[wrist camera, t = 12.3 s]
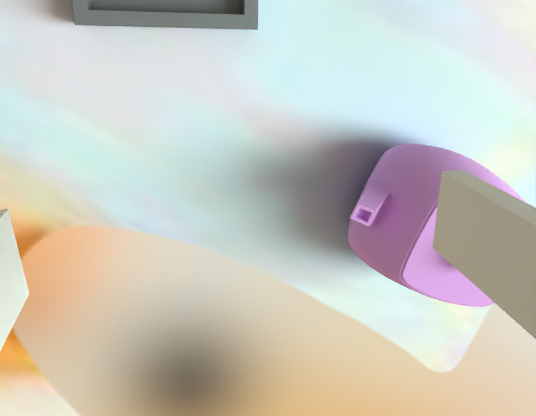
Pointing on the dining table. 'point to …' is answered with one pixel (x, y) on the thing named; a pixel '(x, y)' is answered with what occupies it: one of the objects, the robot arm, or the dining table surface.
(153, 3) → the tray
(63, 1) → the dining table surface
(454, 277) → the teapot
